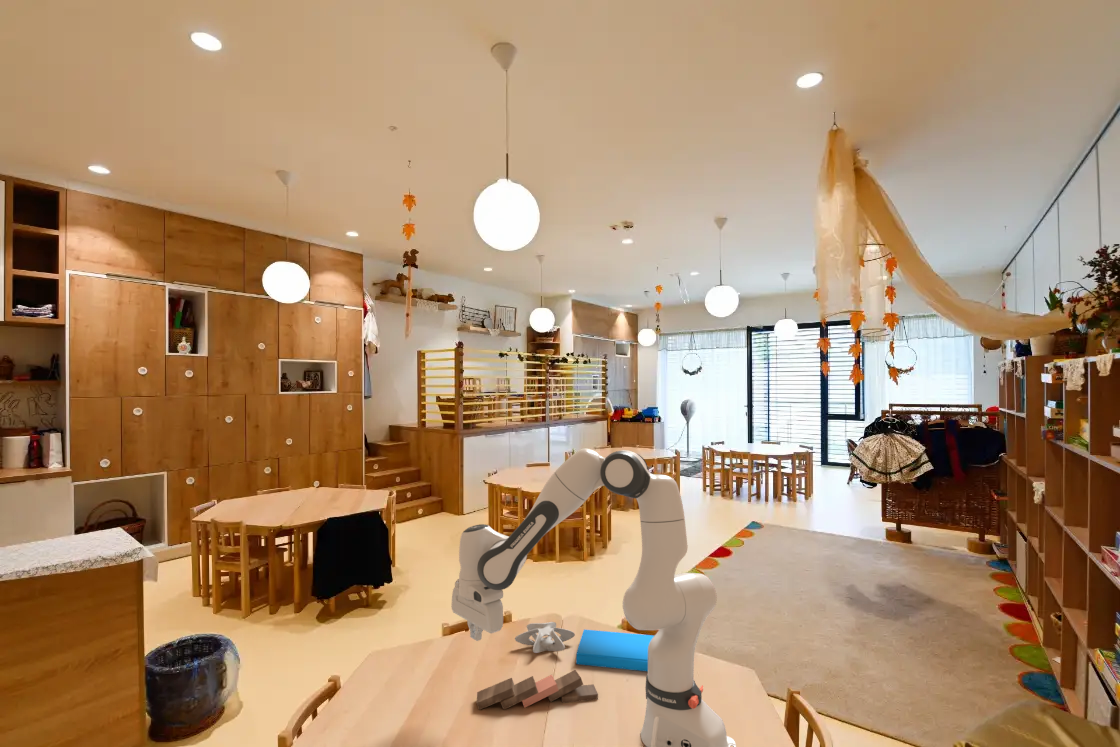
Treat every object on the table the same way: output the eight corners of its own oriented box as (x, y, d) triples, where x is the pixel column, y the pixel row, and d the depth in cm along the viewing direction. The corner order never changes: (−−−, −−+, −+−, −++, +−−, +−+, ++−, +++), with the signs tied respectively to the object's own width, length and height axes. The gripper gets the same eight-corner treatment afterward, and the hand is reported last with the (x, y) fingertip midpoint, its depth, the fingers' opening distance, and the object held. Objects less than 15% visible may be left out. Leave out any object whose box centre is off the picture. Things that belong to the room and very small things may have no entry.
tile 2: (501, 698, 148) (535, 682, 150) (503, 709, 143) (538, 692, 145) (498, 692, 148) (532, 675, 150) (500, 703, 143) (535, 685, 145)
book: (583, 629, 183) (658, 634, 179) (583, 642, 183) (658, 647, 179) (575, 653, 166) (658, 660, 162) (576, 668, 166) (658, 674, 162)
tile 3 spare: (520, 697, 149) (553, 681, 152) (524, 707, 144) (558, 690, 147) (518, 690, 149) (551, 674, 152) (522, 701, 144) (556, 683, 147)
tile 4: (545, 692, 151) (577, 676, 154) (550, 702, 147) (583, 684, 150) (543, 686, 151) (575, 669, 154) (548, 695, 147) (581, 677, 150)
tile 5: (558, 695, 152) (593, 691, 154) (562, 705, 147) (598, 701, 149) (559, 687, 152) (593, 684, 154) (562, 697, 147) (598, 694, 149)
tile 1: (479, 698, 148) (514, 684, 149) (479, 709, 143) (514, 694, 144) (477, 692, 148) (511, 677, 149) (476, 703, 143) (512, 688, 144)
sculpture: (512, 636, 186) (512, 617, 186) (569, 632, 189) (569, 613, 189) (517, 662, 168) (517, 641, 168) (580, 657, 172) (580, 636, 172)
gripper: (445, 579, 151) (445, 629, 151) (486, 599, 136) (487, 655, 136) (465, 574, 156) (465, 623, 155) (507, 593, 140) (507, 647, 140)
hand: (475, 638), depth 145 cm, fingers closed
